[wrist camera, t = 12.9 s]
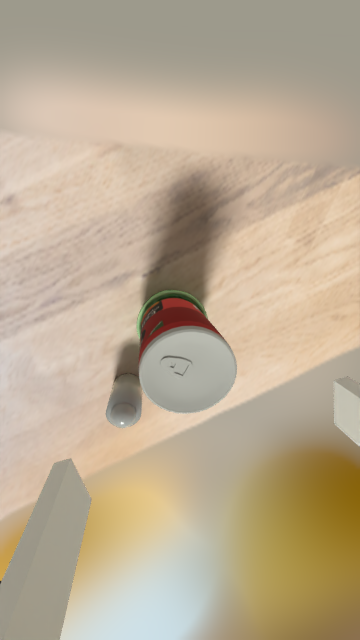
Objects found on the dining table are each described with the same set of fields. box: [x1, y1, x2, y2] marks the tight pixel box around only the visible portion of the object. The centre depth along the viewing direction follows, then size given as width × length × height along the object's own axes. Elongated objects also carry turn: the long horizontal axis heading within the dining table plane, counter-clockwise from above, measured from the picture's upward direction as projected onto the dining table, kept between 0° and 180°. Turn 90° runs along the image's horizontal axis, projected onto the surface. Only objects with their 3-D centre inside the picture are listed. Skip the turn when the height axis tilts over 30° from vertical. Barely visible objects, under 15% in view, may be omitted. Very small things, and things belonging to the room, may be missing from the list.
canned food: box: [138, 298, 237, 414], centre depth 23 cm, size 8×8×11 cm
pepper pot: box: [106, 374, 142, 428], centre depth 30 cm, size 4×4×8 cm
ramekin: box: [137, 290, 208, 338], centre depth 30 cm, size 9×9×4 cm
